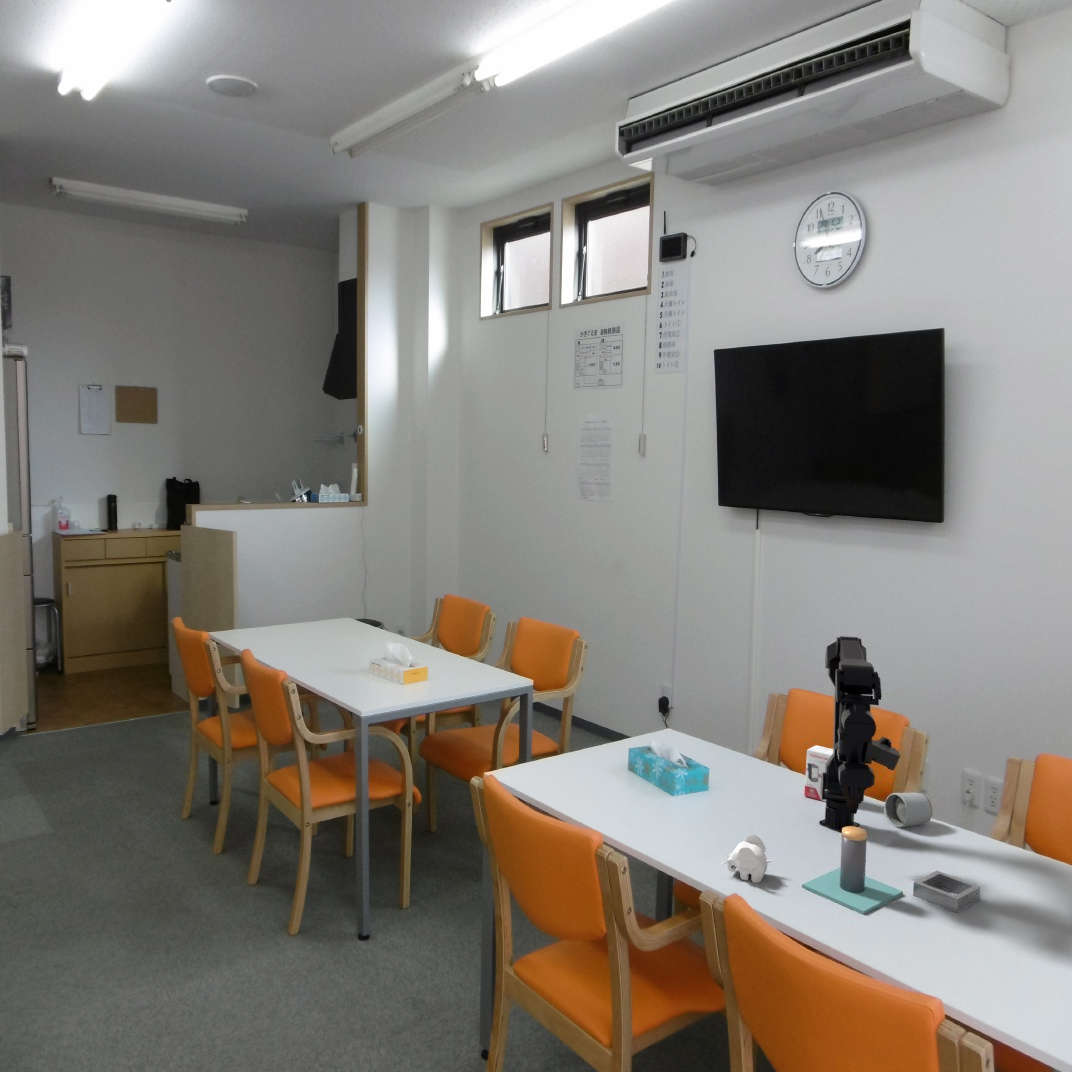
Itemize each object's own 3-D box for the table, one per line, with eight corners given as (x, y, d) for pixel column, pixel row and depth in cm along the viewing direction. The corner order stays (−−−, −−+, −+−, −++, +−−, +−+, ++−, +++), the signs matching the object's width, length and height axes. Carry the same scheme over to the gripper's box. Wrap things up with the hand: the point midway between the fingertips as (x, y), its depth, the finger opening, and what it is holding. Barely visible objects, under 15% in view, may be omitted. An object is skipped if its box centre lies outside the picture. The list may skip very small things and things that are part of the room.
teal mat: (841, 869, 180) (841, 866, 180) (902, 894, 170) (902, 891, 170) (801, 887, 172) (802, 884, 172) (863, 914, 162) (863, 911, 162)
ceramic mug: (934, 828, 202) (935, 795, 201) (906, 832, 199) (907, 799, 199) (901, 812, 211) (902, 781, 211) (874, 816, 209) (875, 784, 208)
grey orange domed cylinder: (856, 881, 173) (859, 825, 173) (869, 892, 169) (871, 834, 168) (835, 883, 173) (837, 826, 172) (847, 893, 168) (849, 836, 168)
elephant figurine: (727, 863, 182) (728, 828, 182) (775, 873, 178) (776, 837, 178) (717, 878, 175) (718, 842, 175) (767, 889, 171) (769, 852, 171)
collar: (936, 883, 175) (936, 870, 174) (979, 899, 168) (980, 886, 168) (913, 895, 170) (913, 882, 169) (956, 912, 163) (957, 899, 163)
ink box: (803, 796, 220) (805, 749, 219) (811, 791, 224) (813, 744, 223) (838, 805, 215) (840, 756, 214) (846, 800, 218) (848, 752, 218)
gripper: (905, 745, 167) (901, 827, 169) (891, 718, 185) (888, 793, 187) (841, 739, 170) (838, 820, 171) (834, 714, 188) (831, 787, 189)
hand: (851, 805), depth 180 cm, fingers open, 9 cm apart
